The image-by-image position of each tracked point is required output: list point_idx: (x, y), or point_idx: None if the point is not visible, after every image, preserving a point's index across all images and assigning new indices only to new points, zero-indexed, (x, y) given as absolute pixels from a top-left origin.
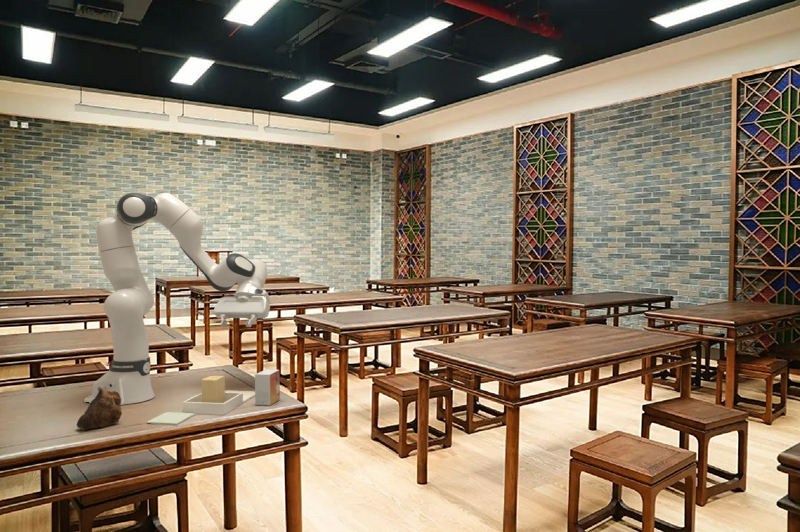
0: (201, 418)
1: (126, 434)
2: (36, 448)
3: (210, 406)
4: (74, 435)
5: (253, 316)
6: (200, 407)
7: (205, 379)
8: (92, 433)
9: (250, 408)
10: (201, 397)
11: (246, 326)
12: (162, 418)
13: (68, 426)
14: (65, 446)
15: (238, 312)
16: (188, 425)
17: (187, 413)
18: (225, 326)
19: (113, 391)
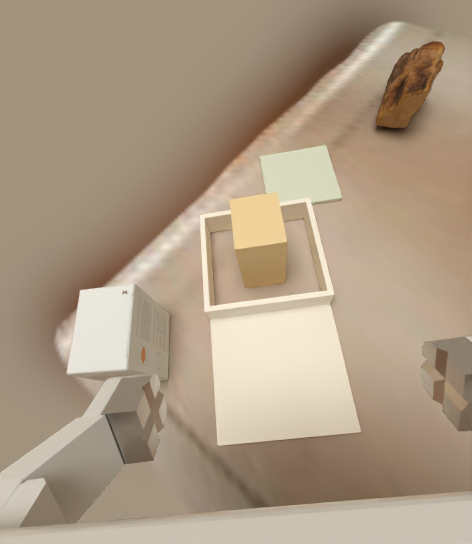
0: None
1: (310, 107)
2: (387, 41)
3: None
4: None
5: (5, 483)
6: None
7: (268, 199)
8: (372, 92)
9: (170, 286)
10: (321, 277)
11: (162, 397)
12: (312, 167)
13: (458, 97)
14: (354, 56)
15: (313, 507)
16: (237, 164)
17: None
18: (422, 373)
19: (431, 74)
